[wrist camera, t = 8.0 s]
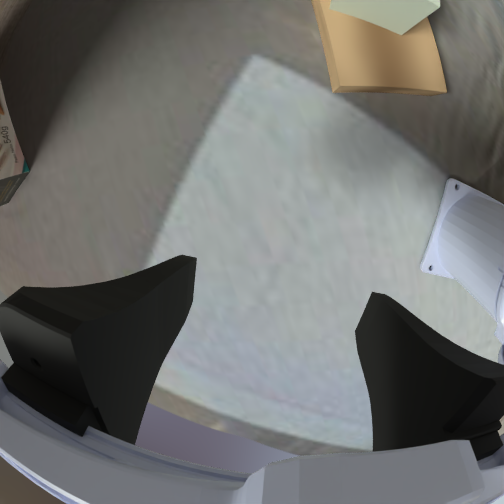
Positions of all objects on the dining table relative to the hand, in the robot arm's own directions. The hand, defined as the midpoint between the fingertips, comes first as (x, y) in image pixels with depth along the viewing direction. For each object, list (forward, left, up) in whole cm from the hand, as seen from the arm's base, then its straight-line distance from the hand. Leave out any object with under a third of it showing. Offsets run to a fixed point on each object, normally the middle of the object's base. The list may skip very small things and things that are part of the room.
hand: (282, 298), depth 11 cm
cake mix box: (+34, -8, -10) cm, 36 cm away
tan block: (-3, -18, -10) cm, 21 cm away
